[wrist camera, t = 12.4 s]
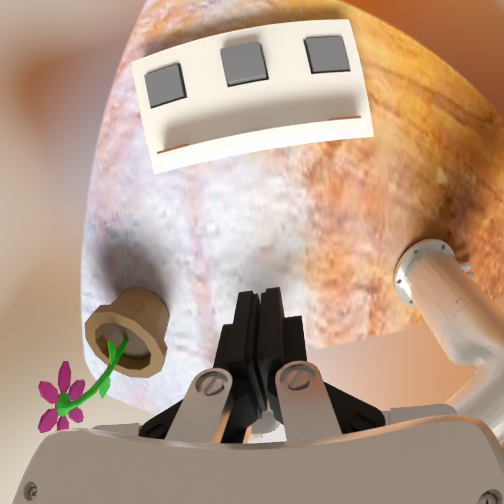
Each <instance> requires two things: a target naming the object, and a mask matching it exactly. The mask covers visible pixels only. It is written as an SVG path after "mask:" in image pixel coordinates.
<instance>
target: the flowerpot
mask: <svg viewBox="0 0 504 504" xmlns="http://www.w3.org/2000/svg"><path fill="white" fill-rule="evenodd" d="M169 317H170V314H169V312H168V309H167V307H166V304H165V303H164V302H163V301H162V300H161V299H160V298H159V297H158V296H157V295H156V294H155V293H153V292H151V291H148V290H146V289H143V288H141V287H140V288H131V289H127V290H126V291H125V292H124V293H123V294H122V295H121V296H119V297H118V298H117V299H116V300H115V301H114V302H113V303H112V304H111V305H100V306H99V307H98V308H97V309H96V310H95V311H94V313H93V314H92V315H91V316H90V317H89V318H88V320H87V321H86V322H85V336H86V340H87V342H88V344H89V345H90V347H91V349H92V350H93V352H94V353H95V355H96V356H97V357H98V358H99V359H101V360H102V361H103V362H104V363H105V364H106V365H108V367H107V369H106V370H105V372H104V373H103V374H102V376H101V377H100V378H99V379H98V380H97V381H96V383H95V384H94V385H93V386H92V387H91V389H90V390H88V391H87V392H85V393H84V394H83V395H82V393H83V390H84V387H85V381H84V380H76V381H75V382H74V383H73V384H72V385H71V386H70V379H71V370H70V366H69V363H68V361H64V362H63V364H62V366H61V368H60V370H59V374H58V386H59V389H60V391H61V393H60V394H59V395H58V391H57V389H56V388H55V387H54V386H53V385H52V384H51V383H49V382H44V381H40V384H39V386H38V388H39V391H40V394H41V397H43V398H44V399H45V400H46V401H48V402H49V403H51V404H53V403H55V409H48V410H47V411H46V412H45V413H44V414H43V415H42V416H41V419H40V423H39V426H38V429H39V431H40V433H44V432H47V431H50V430H51V429H52V427H54V425H55V424H56V423H57V431H59V430H64V429H69V422H68V420H67V418H66V415H67V413H68V416H69V418H70V419H71V420H73V421H74V422H76V423H80V422H82V421H83V418H84V417H83V413H82V411H81V409H79V408H78V407H77V406H79V405H80V404H82V403H83V402H84V401H86V400H87V399H89V398H90V397H91V396H93V395H94V394H95V393H96V392H97V390H98V389H99V388H100V394H101V397H102V398H103V397H104V396H105V394H106V392H107V391H108V389H109V387H110V378H109V376H110V374H111V373H112V371H113V370H115V371H118V372H120V373H122V374H125V375H127V376H129V377H139V378H149V377H151V376H153V375H155V374H156V373H158V372H160V371H161V370H162V367H163V365H164V362H165V357H166V353H167V346H166V344H165V342H164V337H165V334H166V330H167V326H168V322H169ZM69 386H70V389H69V393H68V394H67V393H66V392H67V390H68V388H69ZM71 400H73V401H71ZM58 415H60V418H59V420H58V422H57V419H58Z"/></svg>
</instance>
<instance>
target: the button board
mask: <svg viewBox="0 0 504 504" xmlns="http://www.w3.org/2000/svg"><path fill="white" fill-rule="evenodd" d="M322 37H342V40H343V44H344V48H345V52H346V56H347V60H348V65H349V69H348V70H347V71H345V72H333V73H320V74H311V71H310V67H309V62H308V58H307V54H306V50H305V46H304V43H305V40H306V39H307V38H322ZM256 41H259V45H260V50H261V54H262V58H263V63H264V67H265V72H266V78H267V79H264V80H258V81H253V82H247V83H242V84H237V85H233V86H230V85H229V83H228V82H227V79H226V74H225V70H224V65H223V60H222V56H221V51H220V49H221V48H226V47H230V46H235V45H240V44H245V43H250V42H256ZM131 64H132V70H133V76H134V82H135V87H136V93H137V98H138V103H139V108H140V113H141V118H142V122H143V127H144V132H145V136H146V140H147V145H148V149H149V153H150V157H151V162H152V166H153V170H154V174H157V173H161V172H164V171H168V170H172V169H176V168H180V167H184V166H188V165H192V164H196V163H201V162H205V161H210V160H214V159H219V158H224V157H228V156H233V155H238V154H244V153H249V152H254V151H260V150H266V149H272V148H278V147H284V146H291V145H298V144H305V143H313V142H321V141H330V140H339V139H349V138H361V137H374V135H373V128H372V121H371V114H370V108H369V103H368V97H367V92H366V86H365V82H364V77H363V72H362V68H361V63H360V59H359V55H358V51H357V47H356V43H355V39H354V36H353V32H352V29H351V25H350V22H349V20H347V19H340V20H311V21H298V22H287V23H279V24H271V25H264V26H257V27H251V28H246V29H241V30H236V31H231V32H226V33H222V34H217V35H213V36H209V37H205V38H202V39H198V40H195V41H191V42H188V43H184V44H181V45H178V46H175V47H172V48H169V49H166V50H163V51H160V52H157V53H154V54H152V55H149V56H146V57H144V58H141V59H139V60H136V61H134V62H132V63H131ZM175 64H178V65H179V66H181V68H182V73H183V78H184V83H185V88H186V92H187V97H188V98H184V99H181V100H177V101H174V102H171V103H168V104H165V105H161V106H158V107H155V106H150V101H149V96H148V91H147V86H146V80H145V75H146V74H149V73H152V72H155V71H157V70H160V69H163V68H166V67H169V66H172V65H175Z"/></svg>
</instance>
